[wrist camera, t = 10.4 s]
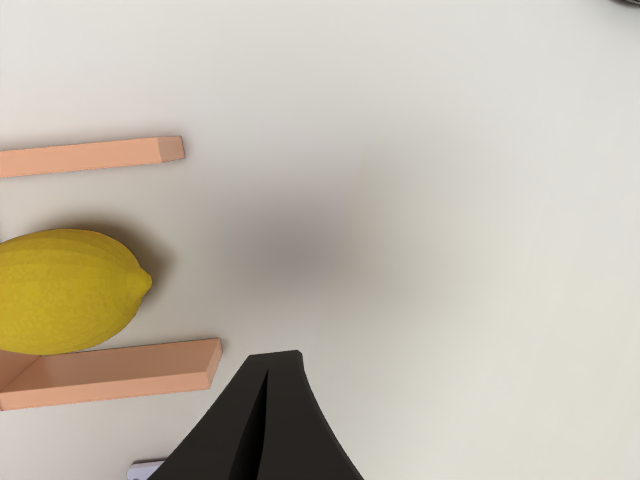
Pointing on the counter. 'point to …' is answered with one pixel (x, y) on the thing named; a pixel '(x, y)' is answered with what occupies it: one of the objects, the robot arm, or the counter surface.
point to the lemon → (66, 291)
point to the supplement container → (634, 1)
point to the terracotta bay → (113, 364)
